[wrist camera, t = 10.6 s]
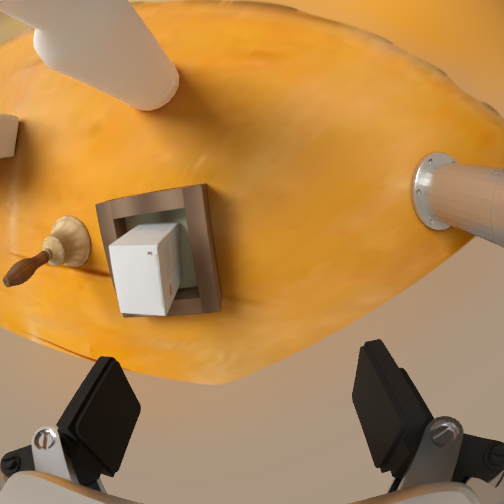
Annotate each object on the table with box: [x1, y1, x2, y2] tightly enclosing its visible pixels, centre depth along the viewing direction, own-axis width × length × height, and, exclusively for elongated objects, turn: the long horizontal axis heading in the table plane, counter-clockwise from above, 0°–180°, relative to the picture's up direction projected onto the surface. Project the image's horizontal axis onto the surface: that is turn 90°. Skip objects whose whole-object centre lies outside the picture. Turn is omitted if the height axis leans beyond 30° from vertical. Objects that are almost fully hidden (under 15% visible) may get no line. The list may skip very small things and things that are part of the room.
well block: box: [96, 184, 222, 317], centre depth 34 cm, size 14×16×4 cm
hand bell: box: [3, 216, 91, 287], centre depth 28 cm, size 8×8×16 cm
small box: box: [108, 222, 183, 316], centre depth 31 cm, size 8×6×10 cm
